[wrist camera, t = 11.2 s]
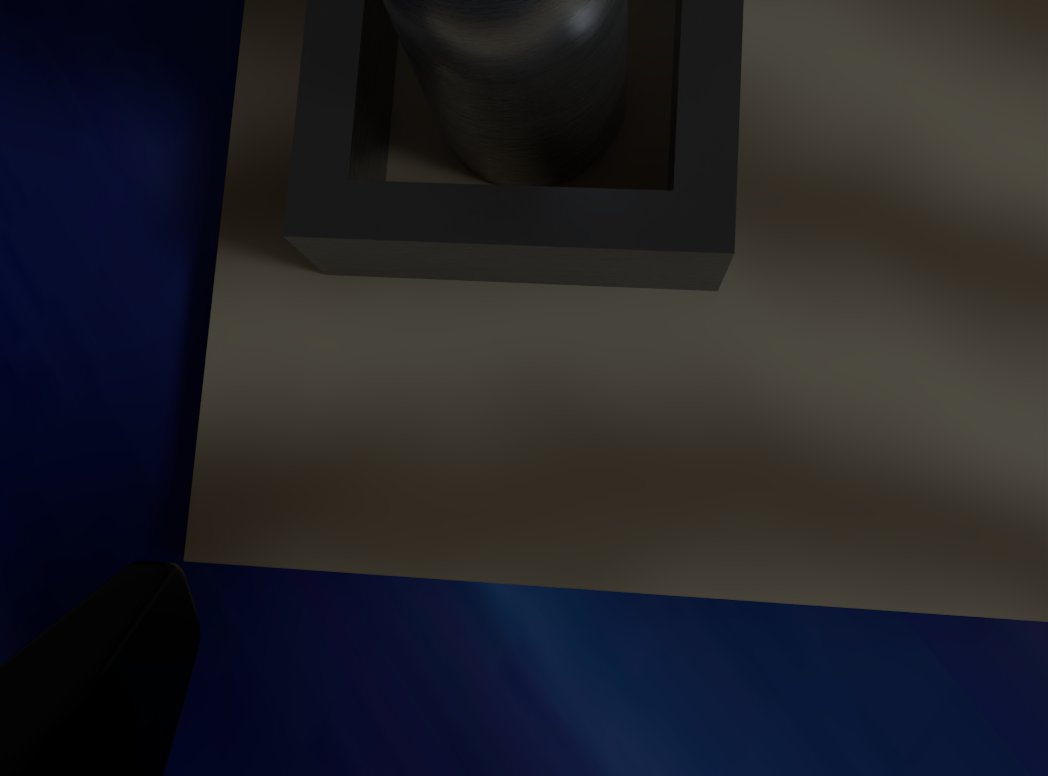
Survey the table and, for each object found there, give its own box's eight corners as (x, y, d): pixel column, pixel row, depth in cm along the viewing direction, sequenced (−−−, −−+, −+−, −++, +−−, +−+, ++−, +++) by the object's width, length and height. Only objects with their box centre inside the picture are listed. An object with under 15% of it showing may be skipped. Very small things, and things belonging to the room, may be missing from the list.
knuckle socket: (718, 291, 22) (734, 253, 19) (325, 274, 23) (283, 236, 20) (732, -81, 23) (749, -170, 20) (359, -83, 24) (323, -170, 21)
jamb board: (1417, 644, 21) (1458, 650, 20) (201, 559, 23) (183, 561, 22) (1376, -74, 23) (1411, -101, 22) (270, -82, 25) (256, -107, 24)
